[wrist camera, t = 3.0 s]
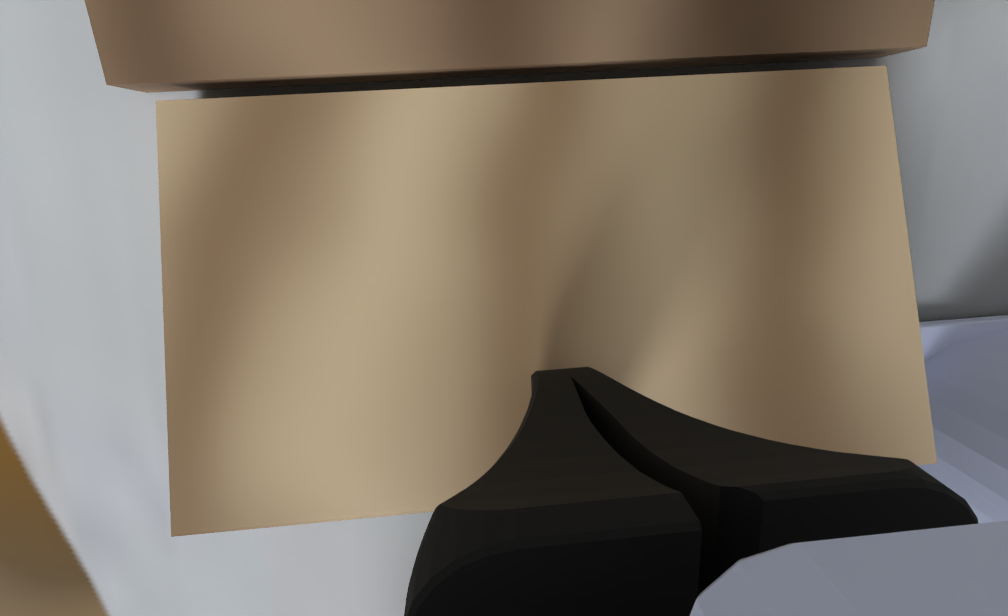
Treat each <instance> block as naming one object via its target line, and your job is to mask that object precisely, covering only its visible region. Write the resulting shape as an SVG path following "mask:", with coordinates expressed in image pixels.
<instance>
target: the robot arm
mask: <svg viewBox="0 0 1008 616" xmlns="http://www.w3.org/2000/svg"><path fill="white" fill-rule="evenodd" d="M919 325H920V332H921V340H922V348H923V356H924V364H925V372H926V379H927V387H928V395H929V403H930V411H931V419H932V426H933V434H934V442H935V450H936V458H937V463H936V464H925V465H916V464H914V463H913V462H911V461H910V460H908V459H902V458H892V457H882V456H873V455H863V454H853V453H844V452H835V451H828V450H822V449H816V448H810V447H804V446H798V445H792V444H787V443H783V442H778V441H773V440H768V439H764V438H760V437H756V436H752V435H748V434H744V433H741V432H737V431H733V430H730V429H726V428H723V427H720V426H716V425H714V424H711V423H708V422H705V421H702V420H699V419H696V418H694V417H691V416H688V415H686V414H683V413H681V412H678V411H676V410H674V409H671V408H669V407H667V406H665V405H663V404H660V403H658V402H656V401H654V400H652V399H650V398H648V397H646V396H644V395H642V394H640V393H638V392H636V391H634V390H632V389H630V388H628V387H627V386H625V385H623V384H621V383H619V382H617V381H616V380H614V379H612V378H610V377H608V376H607V375H605V374H603V373H601V372H599V371H597V370H595V369H593V368H590V367H578V368H566V369H553V370H541V371H535V372H534V373H533V374H532V375H531V390H532V395H531V399H530V402H529V406H528V409H527V412H526V414H525V416H524V418H523V421H522V423H521V425H520V427H519V429H518V431H517V433H516V435H515V436H514V438H513V440H512V441H511V443H510V444H509V446H508V447H507V449H506V450H505V451H504V453H503V454H502V455H501V456H500V458H499V459H498V460H497V462H496V463H495V464H494V465H493V466H492V467H491V468H490V469H489V470H488V471H487V472H486V473H485V474H484V475H483V476H482V477H480V478H479V479H478V480H477V481H475V482H474V483H473V484H471V485H470V486H469V487H467V488H466V489H464V490H462V491H461V492H459V493H457V494H456V495H454V496H453V497H451V498H449V499H448V500H446V501H444V502H443V503H441V504H439V505H438V506H437V507H436V508H435V510H434V512H433V515H432V517H431V519H430V522H429V524H428V527H427V529H426V532H425V534H424V537H423V540H422V542H421V545H420V548H419V551H418V554H417V557H416V560H415V564H414V567H413V571H412V575H411V578H410V582H409V587H408V592H407V598H406V606H405V614H404V616H1008V315H1003V316H990V317H977V318H965V319H952V320H939V321H927V322H919Z"/></svg>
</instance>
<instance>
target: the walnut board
mask: <svg viewBox="0 0 1008 616" xmlns="http://www.w3.org/2000/svg"><path fill="white" fill-rule="evenodd" d="M934 1H935V0H85V3H86V7H87V11H88V15H89V19H90V23H91V26H92V30H93V34H94V38H95V42H96V45H97V49H98V53H99V57H100V61H101V64H102V68H103V72H104V76H105V80H106V83H107V85H111V86H116V87H121V88H126V89H131V90H136V91H141V92H146V93H148V92H169V91H190V90H211V89H232V88H253V87H274V86H295V85H316V84H337V83H358V82H379V81H400V80H421V79H442V78H463V77H484V76H505V75H526V74H547V73H568V72H589V71H609V70H630V69H651V68H672V67H693V66H714V65H735V64H756V63H777V62H798V61H819V60H840V59H861V58H880V57H885V56H889V55H893V54H897V53H901V52H905V51H910V50H914V49H918V48H922V47H926V46H927V42H928V36H929V30H930V24H931V18H932V13H933V7H934Z"/></svg>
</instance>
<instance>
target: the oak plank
mask: <svg viewBox="0 0 1008 616" xmlns="http://www.w3.org/2000/svg"><path fill="white" fill-rule="evenodd" d="M156 117H157V145H158V173H159V201H160V230H161V258H162V286H163V314H164V342H165V371H166V399H167V427H168V455H169V483H170V511H171V537H173V536H183V535H193V534H204V533H214V532H225V531H235V530H246V529H256V528H267V527H277V526H288V525H298V524H308V523H319V522H329V521H340V520H350V519H361V518H371V517H382V516H392V515H403V514H413V513H423V512H434V510H435V508H436V507H437V506H438V505H439V504H441V503H443V502H444V501H446V500H448V499H449V498H451V497H453V496H454V495H456V494H457V493H459V492H461V491H462V490H464V489H466V488H467V487H469V486H470V485H471V484H473V483H474V482H475V481H477V480H478V479H479V478H480V477H482V476H483V475H484V474H485V473H486V472H487V471H488V470H489V469H490V468H491V467H492V466H493V465H494V464H495V463H496V462H497V460H498V459H499V458H500V456H501V455H502V454H503V453H504V451H505V450H506V449H507V447H508V446H509V444H510V443H511V441H512V440H513V438H514V436H515V435H516V433H517V431H518V429H519V427H520V425H521V423H522V421H523V418H524V416H525V414H526V412H527V409H528V406H529V402H530V399H531V395H532V390H531V375H532V374H533V373H534V372H535V371H541V370H553V369H566V368H578V367H590V368H593V369H595V370H597V371H599V372H601V373H603V374H605V375H607V376H608V377H610V378H612V379H614V380H616V381H617V382H619V383H621V384H623V385H625V386H627V387H628V388H630V389H632V390H634V391H636V392H638V393H640V394H642V395H644V396H646V397H648V398H650V399H652V400H654V401H656V402H658V403H660V404H663V405H665V406H667V407H669V408H671V409H674V410H676V411H678V412H681V413H683V414H686V415H688V416H691V417H694V418H696V419H699V420H702V421H705V422H708V423H711V424H714V425H716V426H720V427H723V428H726V429H730V430H733V431H737V432H741V433H744V434H748V435H752V436H756V437H760V438H764V439H768V440H773V441H778V442H783V443H787V444H792V445H798V446H804V447H810V448H816V449H822V450H828V451H835V452H844V453H853V454H863V455H873V456H882V457H892V458H902V459H908V460H910V461H911V462H913V463H914V464H916V465H925V464H936V463H937V458H936V450H935V442H934V434H933V426H932V419H931V411H930V403H929V395H928V387H927V379H926V372H925V364H924V356H923V348H922V340H921V332H920V325H919V317H918V309H917V301H916V293H915V285H914V278H913V270H912V262H911V254H910V246H909V238H908V231H907V223H906V215H905V207H904V199H903V191H902V184H901V176H900V168H899V160H898V152H897V144H896V136H895V129H894V121H893V113H892V105H891V97H890V89H889V82H888V74H887V66H866V67H846V68H825V69H805V70H784V71H763V72H743V73H722V74H702V75H681V76H661V77H640V78H620V79H599V80H578V81H558V82H537V83H517V84H496V85H476V86H455V87H435V88H414V89H393V90H373V91H352V92H332V93H311V94H291V95H270V96H250V97H229V98H208V99H188V100H167V101H156Z"/></svg>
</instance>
